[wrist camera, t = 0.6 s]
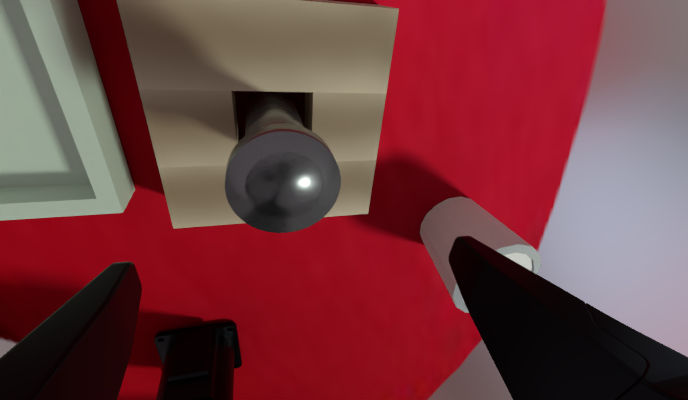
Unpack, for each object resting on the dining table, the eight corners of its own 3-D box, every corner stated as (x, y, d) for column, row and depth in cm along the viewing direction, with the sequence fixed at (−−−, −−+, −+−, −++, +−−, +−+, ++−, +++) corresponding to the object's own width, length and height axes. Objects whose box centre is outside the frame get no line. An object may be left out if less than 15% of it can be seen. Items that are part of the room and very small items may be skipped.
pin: (306, 144, 22) (336, 228, 14) (236, 145, 21) (231, 237, 13) (308, 74, 19) (345, 132, 12) (229, 72, 18) (217, 134, 11)
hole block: (356, 190, 25) (368, 213, 22) (181, 200, 22) (173, 228, 19) (378, 4, 18) (399, 8, 16) (133, -17, 15) (112, -16, 13)
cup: (409, 205, 27) (452, 266, 21) (486, 179, 27) (549, 232, 22) (416, 262, 31) (454, 325, 25) (483, 238, 31) (535, 295, 26)
